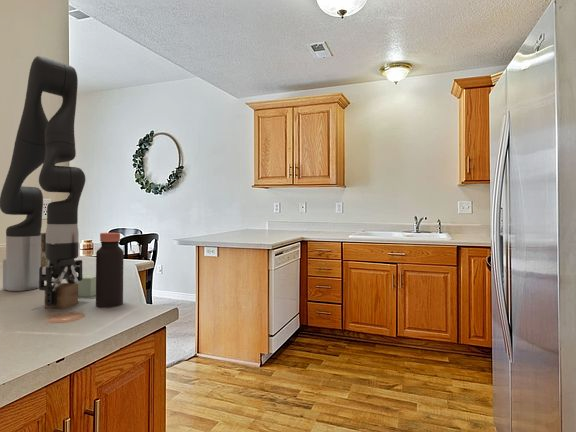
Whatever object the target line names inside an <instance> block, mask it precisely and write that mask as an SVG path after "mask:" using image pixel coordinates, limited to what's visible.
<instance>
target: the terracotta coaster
mask: <svg viewBox="0 0 576 432" xmlns="http://www.w3.org/2000/svg"><path fill="white" fill-rule="evenodd" d="M84 318H85V313H83V312H76V311H75V312H73V311H71V312H70V311H69V312H62V313H61V312H60V313H56V314H51V315H50V316H47V317H46V318H45V321H46V322H47V323H51V324H63V323H70V322H75V321H79V320H81V319H84Z"/></svg>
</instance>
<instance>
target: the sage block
mask: <svg viewBox="0 0 576 432" xmlns="http://www.w3.org/2000/svg"><path fill="white" fill-rule="evenodd" d="M94 295H96V274H82V281H79V282H78V297H92V296H94Z"/></svg>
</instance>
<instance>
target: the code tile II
mask: <svg viewBox="0 0 576 432" xmlns="http://www.w3.org/2000/svg"><path fill="white" fill-rule="evenodd" d="M79 299H80V300H96V295H94V296H92V297H78V300H79Z"/></svg>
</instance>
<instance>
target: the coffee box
mask: <svg viewBox="0 0 576 432" xmlns="http://www.w3.org/2000/svg"><path fill="white" fill-rule="evenodd" d="M49 263H50V261H49V260H48V259H46V232H41V266H42V267H44V266H49Z"/></svg>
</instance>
